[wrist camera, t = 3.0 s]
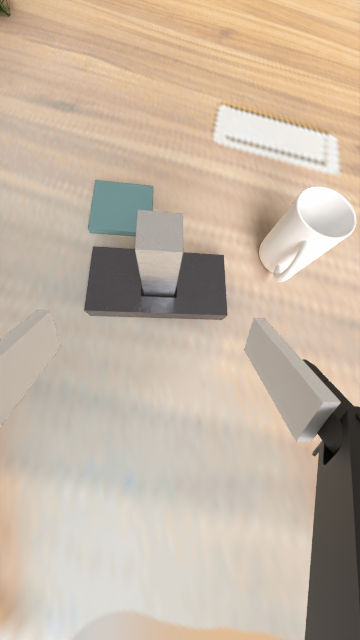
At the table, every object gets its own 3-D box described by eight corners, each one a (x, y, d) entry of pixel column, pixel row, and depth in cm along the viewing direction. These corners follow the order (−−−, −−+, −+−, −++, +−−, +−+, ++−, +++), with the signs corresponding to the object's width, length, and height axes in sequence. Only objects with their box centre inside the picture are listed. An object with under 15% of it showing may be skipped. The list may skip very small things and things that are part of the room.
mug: (287, 303, 32) (343, 273, 23) (243, 281, 33) (279, 242, 23) (305, 249, 36) (362, 203, 26) (265, 230, 36) (306, 176, 26)
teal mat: (90, 232, 32) (88, 228, 31) (97, 185, 34) (95, 180, 33) (150, 237, 33) (150, 233, 32) (153, 190, 35) (153, 185, 34)
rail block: (90, 315, 28) (84, 310, 26) (98, 256, 31) (93, 246, 29) (221, 319, 30) (227, 315, 28) (218, 263, 33) (223, 255, 31)
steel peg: (144, 300, 30) (134, 249, 17) (146, 274, 31) (137, 209, 19) (173, 301, 30) (183, 252, 18) (173, 276, 31) (183, 213, 19)
